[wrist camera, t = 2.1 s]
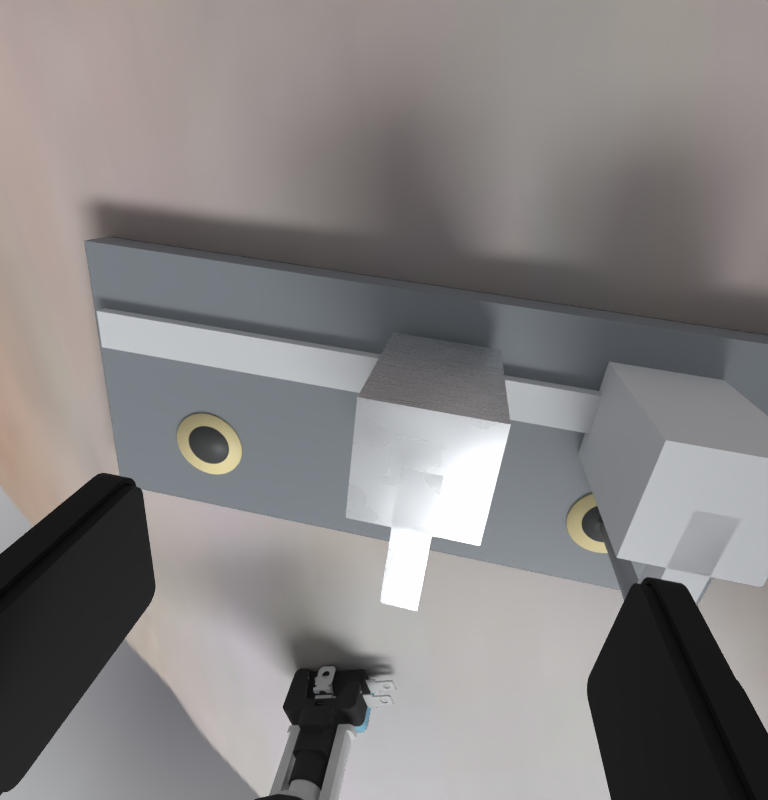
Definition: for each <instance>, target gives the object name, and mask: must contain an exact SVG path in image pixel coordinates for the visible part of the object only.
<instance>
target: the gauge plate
mask: <svg viewBox="0 0 768 800" xmlns="http://www.w3.org/2000/svg"><path fill="white" fill-rule="evenodd" d="M84 242H85V249H86V255H87V262H88V269H89V275H90V282H91V288H92V295H93V302H94V308H95V315H96V322H97V328H98V335H99V342H100V348H101V355H102V361H103V368H104V375H105V381H106V388H107V395H108V401H109V408H110V415H111V421H112V428H113V434H114V441H115V448H116V454H117V461H118V468H119V474H120V476H123V477H128V478H131V479H133V480H134V481H135V483H136V486H137V487H139V488H140V489H143V490H148V491H153V492H158V493H162V494H167V495H172V496H177V497H181V498H186V499H191V500H196V501H200V502H205V503H210V504H214V505H219V506H224V507H229V508H233V509H238V510H243V511H248V512H252V513H257V514H262V515H267V516H271V517H276V518H281V519H285V520H290V521H295V522H300V523H304V524H309V525H314V526H319V527H323V528H328V529H333V530H338V531H342V532H347V533H352V534H356V535H361V536H366V537H371V538H375V539H380V540H385V541H390V534H391V528H392V527H388V526H383V525H378V524H373V523H368V522H364V521H359V520H354V519H349V518H346V508H347V497H348V487H349V477H350V466H351V456H352V446H353V436H354V425H355V415H356V405H357V397H358V395H359V393H360V391H361V389H362V388H363V386H364V384H365V382H366V380H367V379H368V377H369V375H370V373H371V371H372V370H373V368H374V366H375V364H376V362H377V361H378V359H379V357H380V355H381V353H382V352H383V350H384V348H385V346H386V344H387V343H388V341H389V339H390V337H391V335H392V334H393V333H400V334H406V335H412V336H418V337H424V338H430V339H437V340H443V341H449V342H455V343H461V344H467V345H474V346H480V347H486V348H492V349H498V350H501V356H502V363H503V371H504V378H505V385H506V393H507V400H508V407H509V415H510V422H511V426H510V430H509V434H508V438H507V442H506V446H505V449H504V453H503V457H502V461H501V465H500V469H499V473H498V477H497V481H496V484H495V488H494V492H493V496H492V500H491V504H490V508H489V512H488V516H487V520H486V523H485V527H484V531H483V535H482V539H481V543H480V546H479V545H474V544H470V543H465V542H460V541H455V540H450V539H445V538H441V537H436V536H432V537H431V542H430V547H429V550H432V551H437V552H442V553H446V554H451V555H456V556H461V557H465V558H470V559H475V560H480V561H484V562H489V563H494V564H499V565H503V566H508V567H513V568H517V569H522V570H527V571H532V572H536V573H541V574H546V575H551V576H555V577H560V578H565V579H570V580H574V581H579V582H584V583H589V584H593V585H598V586H603V587H607V588H612V589H617V590H621V593H622V595H623V598H624V600H625V598H626V596H627V594H628V592H629V590H630V588H631V586H632V585H633V584H634V583H638V584H641V582H642V581H643V579H645V578H646V577H652V578H657V579H662V580H667V581H673V582H678V583H682V584H683V585H685V586H686V587H687V589H688V590H689V592H690V594H691V595H692V597H693V599H694V601H695V603H696V605H697V606H698V604H699V602H700V600H701V598H702V597H703V595H704V593H705V591H706V589H707V587H708V586H709V584H710V582H711V580H712V578H718V579H723V580H728V581H733V582H737V583H742V584H747V585H752V586H757V587H763V585H764V583H765V582H766V580H767V579H768V335H762V334H755V333H749V332H742V331H735V330H729V329H722V328H715V327H709V326H702V325H695V324H689V323H682V322H675V321H669V320H662V319H655V318H648V317H642V316H635V315H628V314H622V313H615V312H608V311H602V310H595V309H588V308H582V307H575V306H568V305H562V304H555V303H548V302H542V301H535V300H528V299H522V298H515V297H508V296H501V295H495V294H488V293H481V292H475V291H468V290H461V289H455V288H448V287H441V286H435V285H428V284H421V283H415V282H408V281H401V280H395V279H388V278H381V277H375V276H368V275H361V274H354V273H348V272H341V271H334V270H328V269H321V268H314V267H308V266H301V265H294V264H288V263H281V262H274V261H268V260H261V259H254V258H248V257H241V256H234V255H228V254H221V253H214V252H207V251H201V250H194V249H187V248H181V247H174V246H167V245H161V244H154V243H147V242H141V241H134V240H127V239H121V238H114V237H106V238H99V239H93V240H86V241H84Z"/></svg>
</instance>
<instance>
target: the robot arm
mask: <svg viewBox="0 0 768 800" xmlns="http://www.w3.org/2000/svg"><path fill="white" fill-rule="evenodd" d="M154 593H155V578H154V571H153V564H152V557H151V550H150V542H149V535H148V528H147V521H146V514H145V507H144V499H143V493H142V490H141V489H140V488H139V487H137V486H136V483H135V481H134V480H133V479H131V478H128V477H123V476H117V475H112V474H107V473H101V474H98V475H96V476H95V477H93V478H92V479H91V480H90V481H89V482H87V483H86V484H85V485H84V486H82V487H81V488H80V489H79V490H78V491H76V492H75V493H74V494H73V495H72V496H70V497H69V498H68V499H67V500H65V501H64V502H63V503H62V504H61V505H59V506H58V507H57V508H56V509H55V510H53V511H52V512H51V513H50V514H48V515H47V516H46V517H45V518H44V519H42V520H41V521H40V522H39V523H38V524H36V525H35V526H34V527H33V528H31V529H30V530H29V531H28V532H27V533H25V534H24V535H23V536H22V537H21V538H19V539H18V540H17V541H16V542H15V543H13V544H12V545H11V546H10V547H9V548H7V549H6V550H5V551H4V552H2V553H1V554H0V795H1V794H2V793H3V792H8V791H10V790H11V789H13V788H14V787H15V786H16V785H17V784H18V783H19V782H20V781H21V779H22V778H23V777H24V776H25V774H26V773H27V771H28V770H29V769H30V767H31V766H32V764H33V763H34V762H35V760H36V759H37V757H38V756H39V755H40V753H41V752H42V751H43V749H44V748H45V747H46V745H47V744H48V743H49V741H50V740H51V738H52V737H53V736H54V734H55V733H56V731H57V730H58V729H59V728H60V726H61V725H62V723H63V722H64V721H65V719H66V718H67V717H68V715H69V714H70V712H71V711H72V710H73V708H74V707H75V706H76V704H77V703H78V702H79V700H80V699H81V697H82V696H83V695H84V693H85V692H86V691H87V689H88V688H89V686H90V685H91V684H92V682H93V681H94V680H95V678H96V677H97V675H98V674H99V673H100V671H101V670H102V669H103V667H104V666H105V665H106V663H107V662H108V660H109V659H110V658H111V656H112V655H113V653H114V652H115V651H116V649H117V648H118V647H119V645H120V644H121V643H122V641H123V640H124V639H125V637H126V636H127V634H128V633H129V632H130V630H131V629H132V628H133V626H134V625H135V623H136V622H137V621H138V619H139V618H140V617H141V615H142V614H143V613H144V611H145V610H146V608H147V607H148V606H149V604H150V602H151V601H152V598H153V596H154ZM587 696H588V701H589V706H590V710H591V714H592V719H593V723H594V727H595V731H596V736H597V740H598V744H599V749H600V753H601V757H602V762H603V766H604V770H605V775H606V779H607V783H608V788H609V792H610V796H611V800H768V733H767V731H766V730H765V728H764V726H763V724H762V722H761V720H760V718H759V717H758V715H757V713H756V711H755V709H754V707H753V705H752V703H751V702H750V700H749V698H748V696H747V694H746V692H745V691H744V689H743V688H742V686H741V685H740V683H739V682H738V681H737V680H736V678H735V676H734V674H733V673H732V671H731V669H730V667H729V665H728V663H727V661H726V659H725V658H724V656H723V654H722V652H721V650H720V648H719V646H718V644H717V643H716V641H715V639H714V637H713V635H712V633H711V631H710V629H709V627H708V626H707V624H706V622H705V620H704V618H703V616H702V614H701V612H700V611H699V609H698V607H697V605H696V603H695V601H694V599H693V597H692V595H691V594H690V592H689V590H688V589H687V587H686V586H685V585H683V584H682V583H678V582H673V581H667V580H662V579H657V578H652V577H646V578H645V579H643V581H642V582H641V584H638V583H634V584H633V585H632V586H631V588H630V590H629V592H628V594H627V596H626V598H625V600H624V603H623V605H622V607H621V609H620V611H619V613H618V615H617V618H616V620H615V622H614V624H613V626H612V628H611V630H610V633H609V635H608V637H607V639H606V641H605V643H604V645H603V648H602V650H601V652H600V654H599V656H598V658H597V660H596V663H595V665H594V667H593V669H592V671H591V673H590V675H589V678H588V683H587Z"/></svg>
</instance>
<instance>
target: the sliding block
mask: <svg viewBox="0 0 768 800" xmlns="http://www.w3.org/2000/svg"><path fill="white" fill-rule="evenodd" d="M510 426H511V422H510V415H509V407H508V400H507V393H506V385H505V378H504V371H503V363H502V356H501V350H498V349H492V348H486V347H480V346H474V345H467V344H461V343H455V342H449V341H443V340H437V339H430V338H424V337H418V336H412V335H406V334H400V333H393V334H392V335H391V337H390V339H389V341H388V343H387V344H386V346H385V348H384V350H383V352H382V353H381V355H380V357H379V359H378V361H377V362H376V364H375V366H374V368H373V370H372V371H371V373H370V375H369V377H368V379H367V380H366V382H365V384H364V386H363V388H362V389H361V391H360V393H359V395H358V397H357V405H356V415H355V425H354V436H353V446H352V456H351V466H350V477H349V487H348V497H347V508H346V518H349V519H354V520H359V521H364V522H368V523H373V524H378V525H383V526H388V527H392V528H391V534H390V541H389V548H388V554H387V561H386V568H385V574H384V581H383V587H382V594H381V601H380V603H385V604H389V605H393V606H398V607H402V608H407V609H411V610H416V611H417V608H418V603H419V598H420V593H421V588H422V583H423V578H424V573H425V568H426V563H427V558H428V552H429V547H430V542H431V537H432V536H436V537H441V538H445V539H450V540H455V541H460V542H465V543H470V544H474V545H479V546H480V543H481V539H482V535H483V531H484V527H485V523H486V520H487V516H488V512H489V508H490V504H491V500H492V496H493V492H494V488H495V484H496V481H497V477H498V473H499V469H500V465H501V461H502V457H503V453H504V449H505V446H506V442H507V438H508V434H509V430H510Z"/></svg>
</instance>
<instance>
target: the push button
mask: <svg viewBox="0 0 768 800" xmlns="http://www.w3.org/2000/svg"><path fill="white" fill-rule="evenodd" d="M384 684H388V685H389V686H390V687H388V688H387V687H384ZM395 690H396V687H395V685H394V682H393V681H392V680H390V681H375V679H374V680H369V679H368V677H367V674H366V672H365V671H364V670H348V671H336V668H335V667H334V666H327V667H322V668H321V669H319V672H312V673H310V671H309V670H308V669H299V670H298V671H297V672H296V673H295V675H294V678H293V681H292V683H291V686H290V689H289V691H288V694H287V697H286V699H285V702H284V705H283V709H284V711H285V713H286V715H287V716H288V718H289V720H290V722H291V724H292V725H291V726H290V727H289V729H288V732H287V734H288V736H289V738H288V741H287V744H286V747H285V750H284V753H283V756H282V759H281V762H280V765H279V768H278V771H277V774H276V777H275V780H274V783H273V785H272V788H271V791H270V794H269V796H266V797H262V798H258V799H255V800H338V797H339V793H340V789H341V784H342V780H343V775H344V771H345V766H346V762H347V757H348V753H349V749H350V744H351V741H354V740H355V738H356V734H357V733H358V732H364V731H365V730H366V729H367V726H368V721H369V715H370V710H371V708H377V707H378V706H390V705H393V704H394V703H393V700H392V698H391V696H390V695H378V696H373V695H374V693H380V691H395ZM381 699H386V700H387V702H382V701H381Z"/></svg>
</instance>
